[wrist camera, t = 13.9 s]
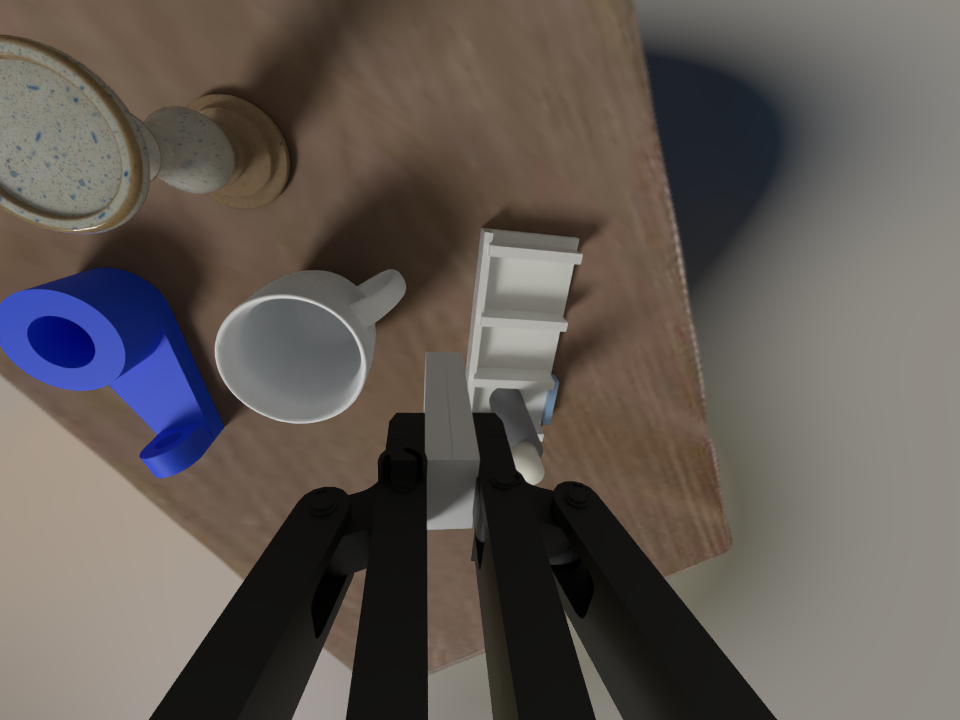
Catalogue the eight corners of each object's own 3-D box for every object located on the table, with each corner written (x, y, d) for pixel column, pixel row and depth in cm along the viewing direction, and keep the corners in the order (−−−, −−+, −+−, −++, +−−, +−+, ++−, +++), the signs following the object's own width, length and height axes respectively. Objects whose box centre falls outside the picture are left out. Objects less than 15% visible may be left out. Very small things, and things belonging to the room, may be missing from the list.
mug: (374, 213, 39) (351, 234, 27) (435, 307, 43) (437, 360, 32) (249, 291, 40) (176, 342, 29) (321, 373, 45) (284, 446, 33)
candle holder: (301, 125, 35) (165, 81, 17) (279, 223, 38) (145, 276, 20) (189, 74, 32) (-113, -42, 14) (175, 183, 36) (-86, 202, 17)
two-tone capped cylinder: (491, 384, 47) (511, 456, 35) (524, 386, 48) (554, 457, 36) (487, 413, 49) (505, 491, 37) (519, 414, 49) (546, 491, 38)
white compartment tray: (481, 227, 40) (486, 233, 37) (583, 238, 42) (598, 244, 38) (459, 426, 50) (462, 446, 47) (542, 428, 52) (551, 448, 48)
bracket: (47, 280, 38) (-36, 306, 31) (140, 256, 38) (78, 276, 31) (167, 441, 47) (122, 489, 40) (243, 421, 47) (211, 465, 40)
